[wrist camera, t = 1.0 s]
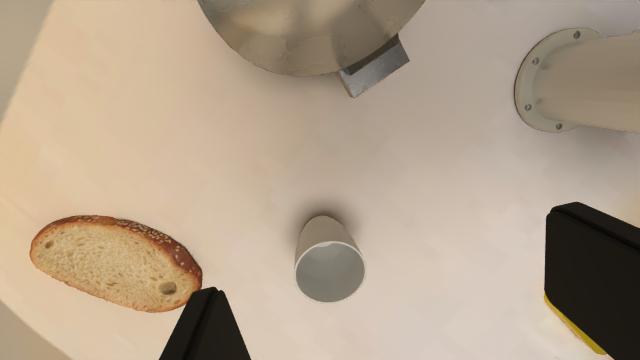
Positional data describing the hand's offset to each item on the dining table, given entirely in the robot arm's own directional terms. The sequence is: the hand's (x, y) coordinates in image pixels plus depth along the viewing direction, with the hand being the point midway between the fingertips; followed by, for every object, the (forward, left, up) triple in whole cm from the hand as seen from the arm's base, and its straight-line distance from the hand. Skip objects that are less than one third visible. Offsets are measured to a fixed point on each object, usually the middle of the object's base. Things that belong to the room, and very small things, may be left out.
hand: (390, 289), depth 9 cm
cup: (+7, +13, -32) cm, 35 cm away
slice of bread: (+32, +1, -32) cm, 46 cm away
